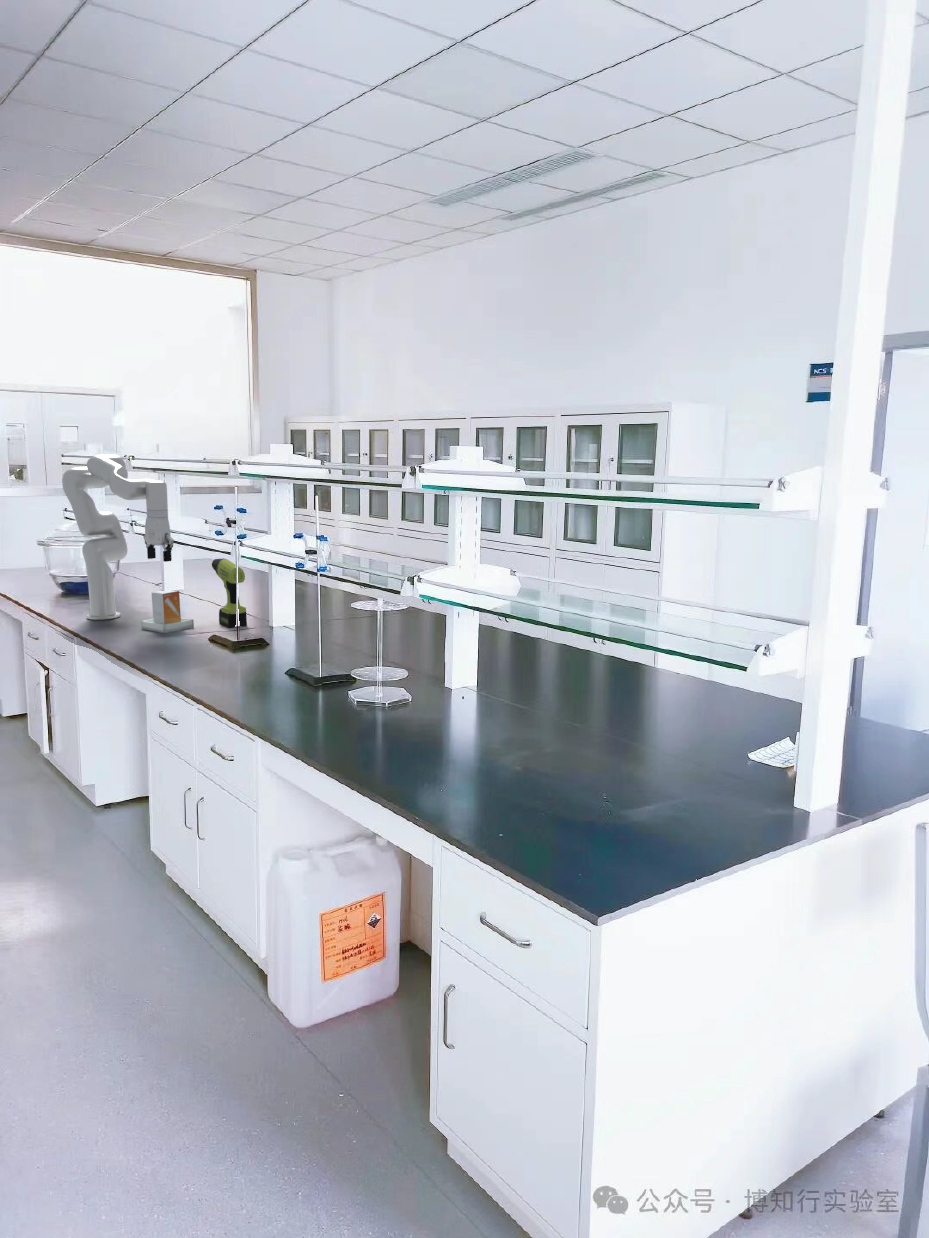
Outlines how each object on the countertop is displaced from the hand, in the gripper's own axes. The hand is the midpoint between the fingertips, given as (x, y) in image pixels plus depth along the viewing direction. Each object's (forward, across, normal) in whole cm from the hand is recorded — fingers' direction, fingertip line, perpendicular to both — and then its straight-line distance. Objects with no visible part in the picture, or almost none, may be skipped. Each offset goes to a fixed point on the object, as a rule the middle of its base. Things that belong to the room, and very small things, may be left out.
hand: (159, 559), depth 343 cm
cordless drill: (+25, +17, +18) cm, 35 cm away
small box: (+24, +5, -1) cm, 25 cm away
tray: (+25, +5, -1) cm, 26 cm away
